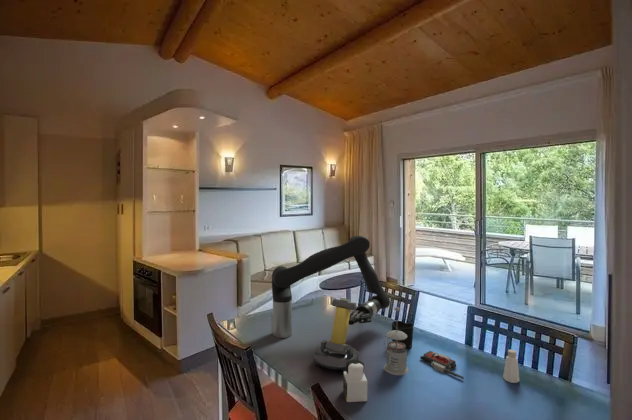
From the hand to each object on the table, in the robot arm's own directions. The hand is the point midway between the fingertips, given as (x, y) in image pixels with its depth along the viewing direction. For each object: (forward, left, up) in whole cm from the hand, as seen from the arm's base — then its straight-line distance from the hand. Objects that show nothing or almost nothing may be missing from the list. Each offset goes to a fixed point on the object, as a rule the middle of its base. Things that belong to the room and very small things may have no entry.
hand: (350, 322), depth 154 cm
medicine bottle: (+16, -28, -14) cm, 35 cm away
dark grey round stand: (0, -12, -14) cm, 18 cm away
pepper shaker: (+61, +13, -14) cm, 64 cm away
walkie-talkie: (+38, +9, -14) cm, 41 cm away
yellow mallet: (0, -12, -8) cm, 14 cm away
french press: (+21, -2, -14) cm, 25 cm away
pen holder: (+17, +19, -14) cm, 29 cm away
